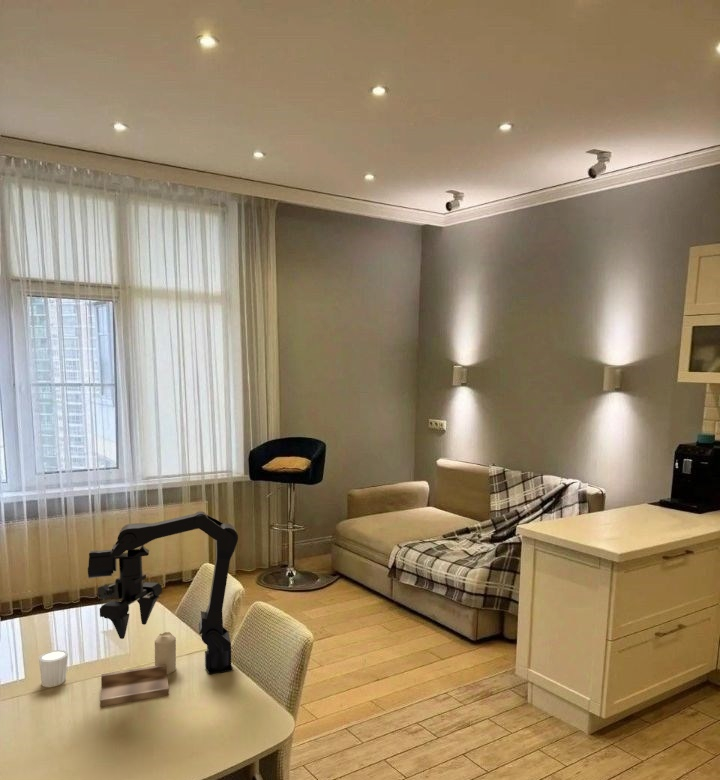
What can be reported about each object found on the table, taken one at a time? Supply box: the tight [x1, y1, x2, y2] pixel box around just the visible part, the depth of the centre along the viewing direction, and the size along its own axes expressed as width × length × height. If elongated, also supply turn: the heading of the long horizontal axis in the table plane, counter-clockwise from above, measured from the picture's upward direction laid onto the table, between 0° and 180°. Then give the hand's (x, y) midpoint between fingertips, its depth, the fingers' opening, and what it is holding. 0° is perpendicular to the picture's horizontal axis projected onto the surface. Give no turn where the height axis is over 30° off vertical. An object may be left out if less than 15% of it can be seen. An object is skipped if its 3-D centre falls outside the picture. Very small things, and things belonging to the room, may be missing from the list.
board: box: [99, 664, 170, 707], centre depth 155 cm, size 16×9×4 cm, turn 111°
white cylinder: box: [38, 649, 69, 688], centre depth 161 cm, size 7×7×7 cm
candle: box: [154, 631, 177, 675], centre depth 167 cm, size 6×6×10 cm
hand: (133, 631), depth 162 cm, fingers open, 9 cm apart
